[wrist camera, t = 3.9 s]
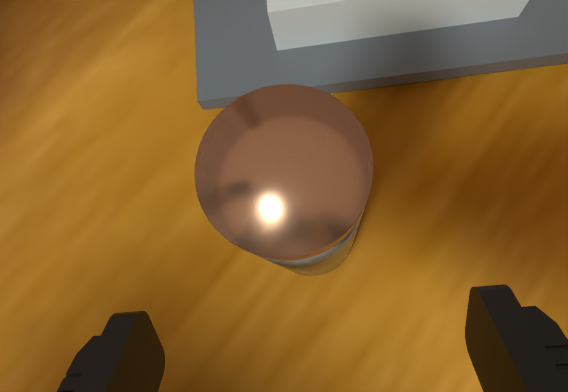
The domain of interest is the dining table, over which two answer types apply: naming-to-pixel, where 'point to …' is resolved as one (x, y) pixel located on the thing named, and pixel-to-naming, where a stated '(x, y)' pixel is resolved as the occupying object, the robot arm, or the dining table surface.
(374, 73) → the dock
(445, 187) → the dining table surface
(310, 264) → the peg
